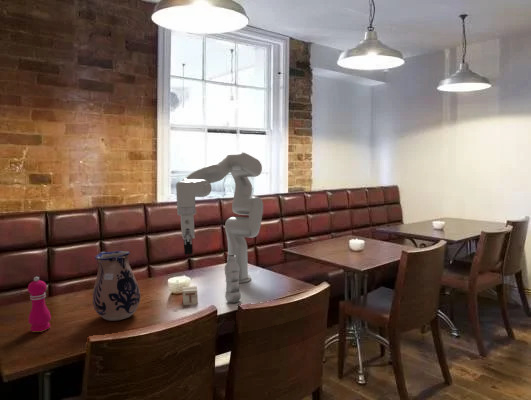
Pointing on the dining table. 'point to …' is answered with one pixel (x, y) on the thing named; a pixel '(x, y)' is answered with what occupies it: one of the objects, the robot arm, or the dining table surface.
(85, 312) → the dining table surface
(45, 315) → the pepper mill
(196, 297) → the beige cube
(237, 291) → the silver metal bottle
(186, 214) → the robot arm
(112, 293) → the ceramic pitcher
